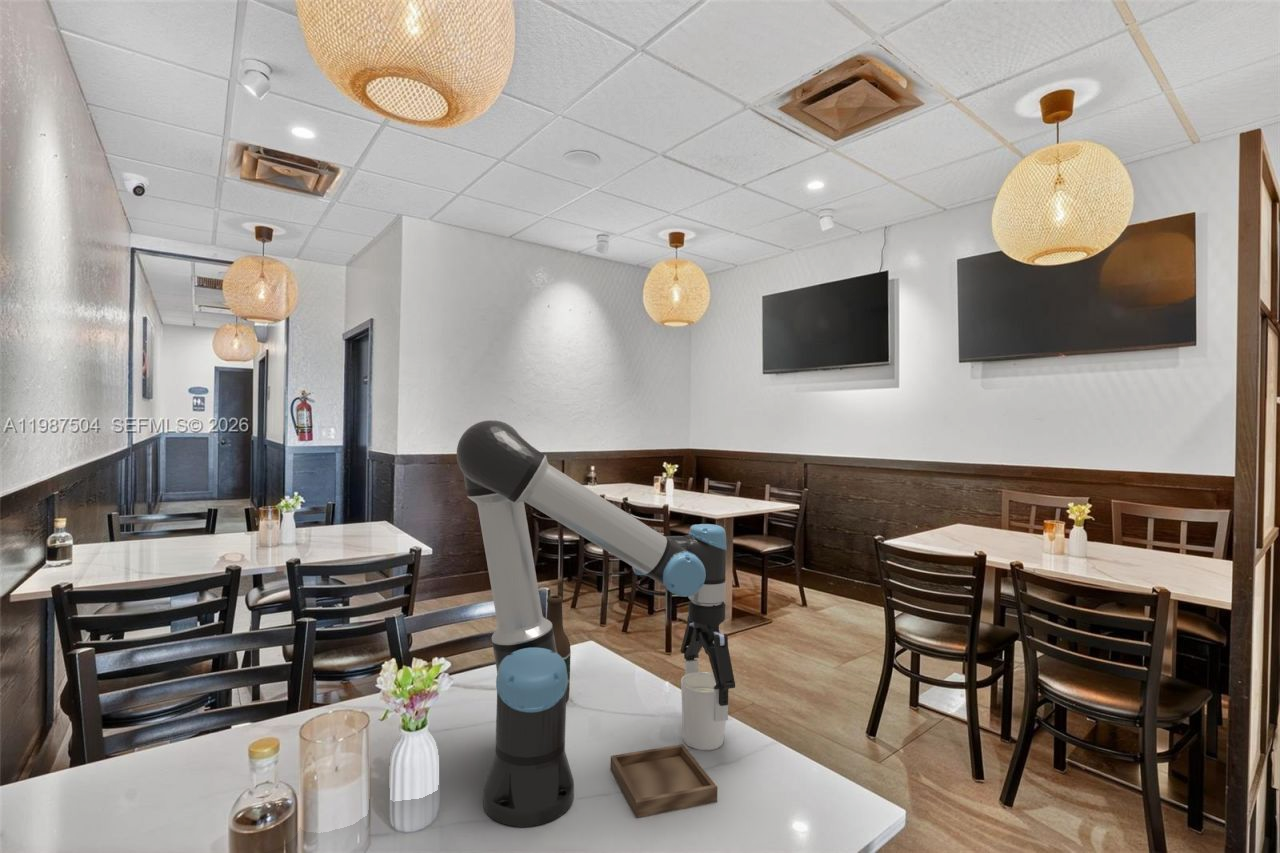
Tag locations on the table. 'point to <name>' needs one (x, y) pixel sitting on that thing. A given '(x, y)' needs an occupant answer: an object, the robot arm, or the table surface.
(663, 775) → the tray
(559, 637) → the beer bottle
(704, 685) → the candle holder
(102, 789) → the table surface
